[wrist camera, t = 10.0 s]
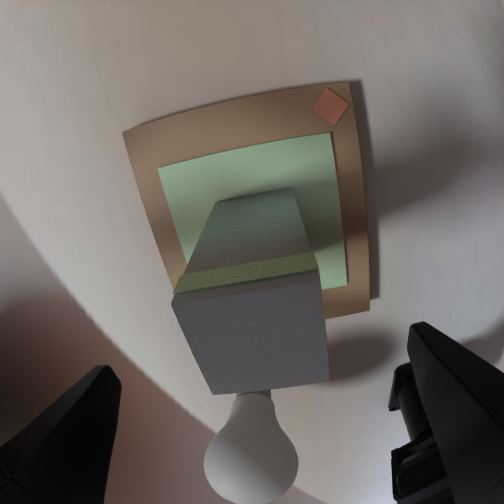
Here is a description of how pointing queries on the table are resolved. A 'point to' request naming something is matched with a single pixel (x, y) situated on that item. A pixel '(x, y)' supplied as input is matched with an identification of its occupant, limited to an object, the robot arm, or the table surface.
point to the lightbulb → (251, 453)
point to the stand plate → (262, 178)
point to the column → (254, 297)
